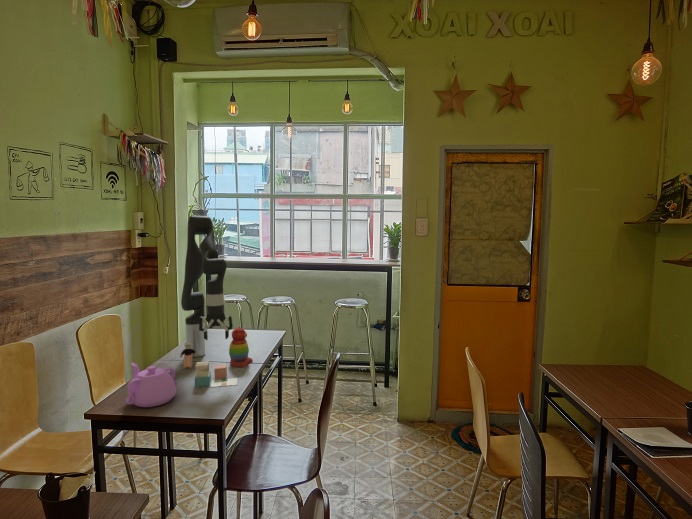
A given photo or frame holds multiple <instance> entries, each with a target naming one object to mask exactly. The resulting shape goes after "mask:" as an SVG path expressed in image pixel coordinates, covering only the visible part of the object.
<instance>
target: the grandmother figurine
mask: <svg viewBox="0 0 692 519" xmlns="http://www.w3.org/2000/svg"><path fill="white" fill-rule="evenodd" d="M191 346H192V344H191V343H190V342H186V341H185V342H184V348H183V350H182V351H181V353H180V355H179V358H183V366H182V369H183V370H184V369H187V368H188V369H192V368H193V357H192V354H191V353H193V354H194V355H195V356H197V354H196V351H194V350H193V349H190V347H191ZM183 355H184V356H183Z"/></svg>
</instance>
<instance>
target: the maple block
mask: <svg viewBox="0 0 692 519" xmlns="http://www.w3.org/2000/svg"><path fill="white" fill-rule="evenodd" d="M209 372H210V361H207V360H206V361H198V362H197V361H196V363H195V375H196V377H207V376H208V375H209Z"/></svg>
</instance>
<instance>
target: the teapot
mask: <svg viewBox="0 0 692 519" xmlns="http://www.w3.org/2000/svg"><path fill="white" fill-rule="evenodd" d="M130 365H131V366H132V378H131V380H130V381H129V382H128V383H127V385H126V386H127V387H126V388H127V392H128V397H126V398H125V403H126V404H127V405H134V406H135V407H139V408H153V407H157V406H161V405H164V404H166V403H168V402H170V401H171V400H172V399H173V398H174V396H175V395H176V393H177V385H178V381H176V380H175V377H176V371H175V368H173V367H169V366H167V367H165V368H160V367H157V366H156V365H151V366H148V367H147V366H146V369H144V370H142V371H140V368H139V365H138V364H137V363H135V362H134V361H133V362H131V363H130ZM168 371H170V373H169V372H168Z"/></svg>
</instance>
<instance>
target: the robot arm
mask: <svg viewBox="0 0 692 519" xmlns="http://www.w3.org/2000/svg"><path fill="white" fill-rule="evenodd" d="M214 232H215V230H214V224H213V220H212V218H211V217H210V216H208V215H190V216H189V217H188V220H187V240H186V243H187V244H186V246H187V247H186V253H185V263H184V282H183V286H182V293H181V300H180V302H181V303H180V304H181V308H182V311H184V312H185V311H187V312H188V311H189V312H191V311H194V312H192V314H190V315H189V316H187V317H186V318H184V319H185V320H184V322H185V323H184V324H185V342H190V343H191V344H192V346H191V347H190V349H193V350H194V351H196V354H197V356H195V355H194V354H193V353H191V354H192V358H200V357H202V356H205V355H206V341H208V338H209V335H208V330H209V328H210V327H212V328H213V327H222V328H223V329H224V330H225V331H224V333H225V335H224V336H225V337H224V338H225V340H228V338H229V337H230V336H229V333H230V332H229V331H230V330H232V329H233V327H234V326H233V316H232V314H231V315H225V297H224V280H225V274H226V272H227V267H228V266H227V261H226V260H225V259H224V258H219V257H220V255H219V252H218V248H217V246H216V242H215V233H214ZM198 235H199V236H200V235H201V236H204V239H203V240H202V241H201V243H200V247H199V246H198V244H197V241H196V236H198ZM202 275H205V276H213V275H214V276H215V275H217V276H216V277H215V278H213V279H209V280H207V282H206V284H205V285H206V286H205V287H206V296H204V294H203V292H201V291H195V292H194V291H193V289H194V286H195V284H197V282H198V281H199V280H200V279H201V277H202ZM205 297H206V298H205ZM205 299H206V300H205ZM205 303H206V316H205ZM225 320H227V321H228V325H229V326H228V325H227V324H226V322H225ZM205 321H206V322H207V324H206V325H205Z"/></svg>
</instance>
